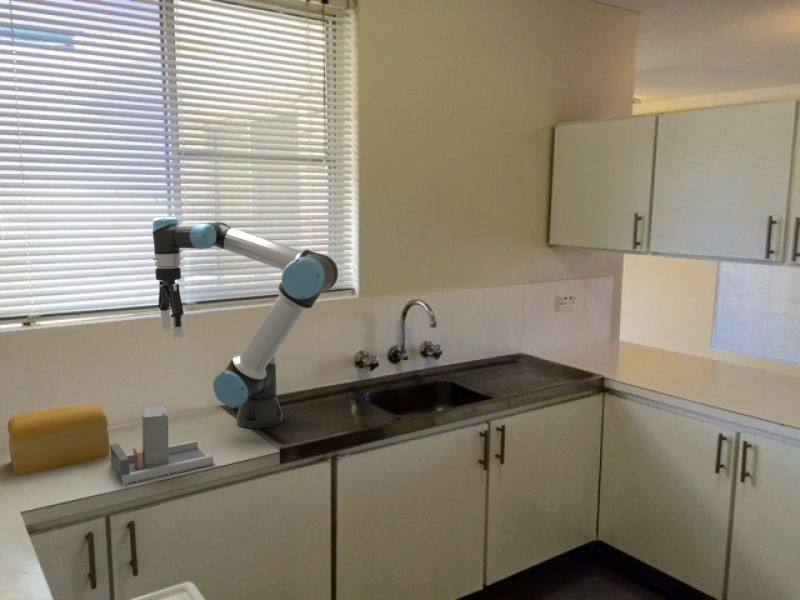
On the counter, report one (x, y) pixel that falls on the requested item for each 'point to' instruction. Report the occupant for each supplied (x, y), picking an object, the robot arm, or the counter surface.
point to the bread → (57, 437)
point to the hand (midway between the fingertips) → (171, 333)
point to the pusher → (138, 458)
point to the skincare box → (155, 437)
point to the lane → (178, 460)
